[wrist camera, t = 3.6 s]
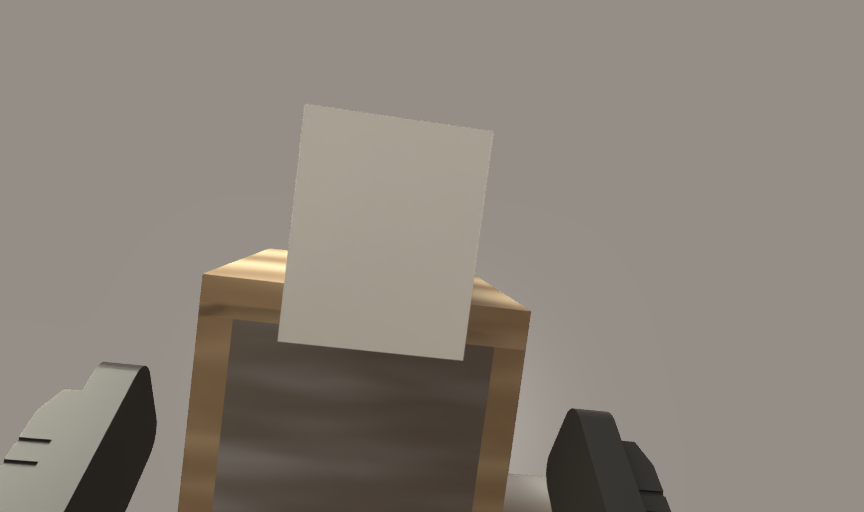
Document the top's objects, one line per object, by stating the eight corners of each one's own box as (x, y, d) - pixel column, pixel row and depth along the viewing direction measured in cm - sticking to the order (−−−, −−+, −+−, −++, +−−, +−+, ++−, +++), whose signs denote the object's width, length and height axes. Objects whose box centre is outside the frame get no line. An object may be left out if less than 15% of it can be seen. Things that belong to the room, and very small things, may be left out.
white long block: (463, 360, 13) (496, 112, 13) (277, 341, 13) (306, 84, 12) (404, 263, 37) (415, 175, 37) (339, 255, 36) (350, 166, 36)
